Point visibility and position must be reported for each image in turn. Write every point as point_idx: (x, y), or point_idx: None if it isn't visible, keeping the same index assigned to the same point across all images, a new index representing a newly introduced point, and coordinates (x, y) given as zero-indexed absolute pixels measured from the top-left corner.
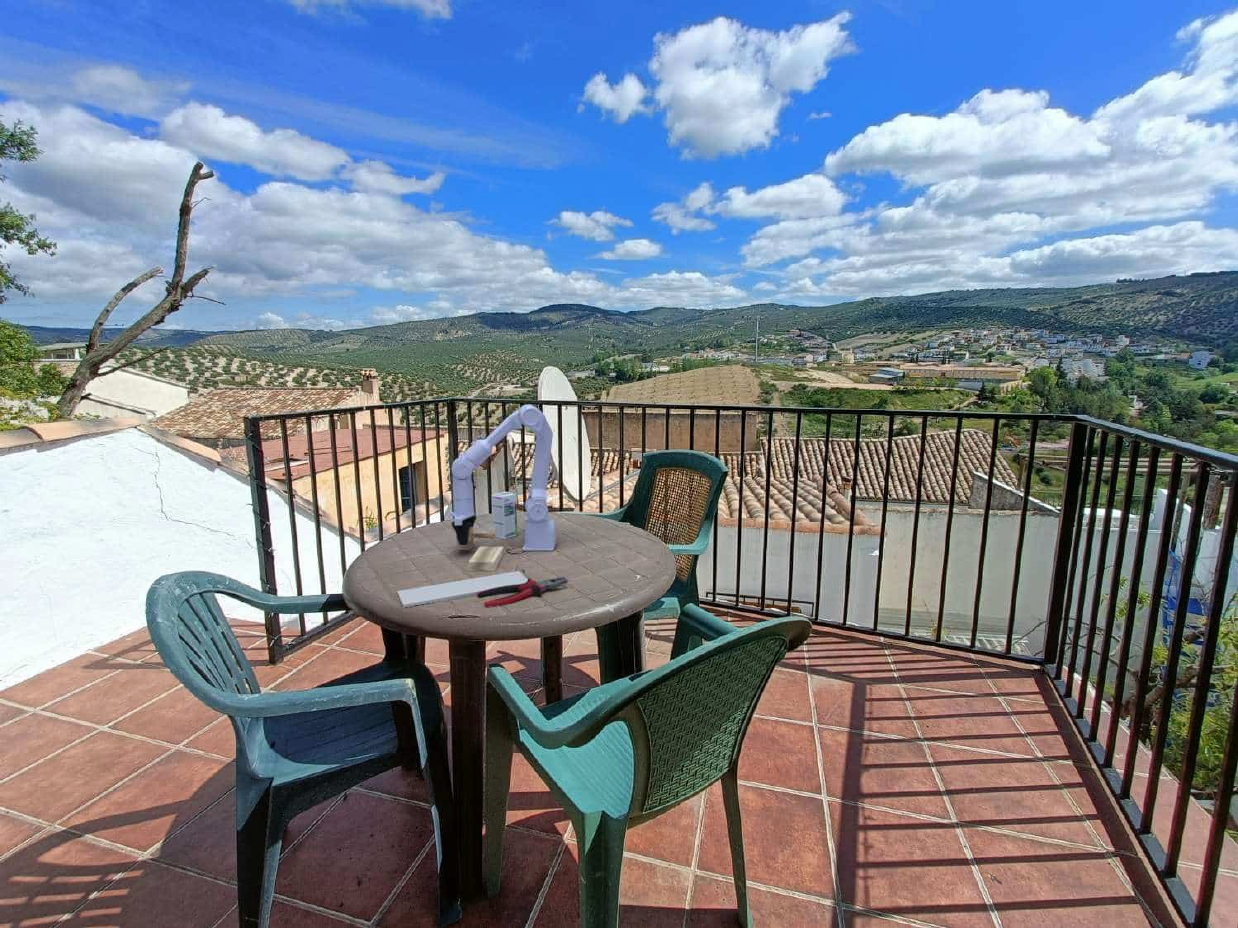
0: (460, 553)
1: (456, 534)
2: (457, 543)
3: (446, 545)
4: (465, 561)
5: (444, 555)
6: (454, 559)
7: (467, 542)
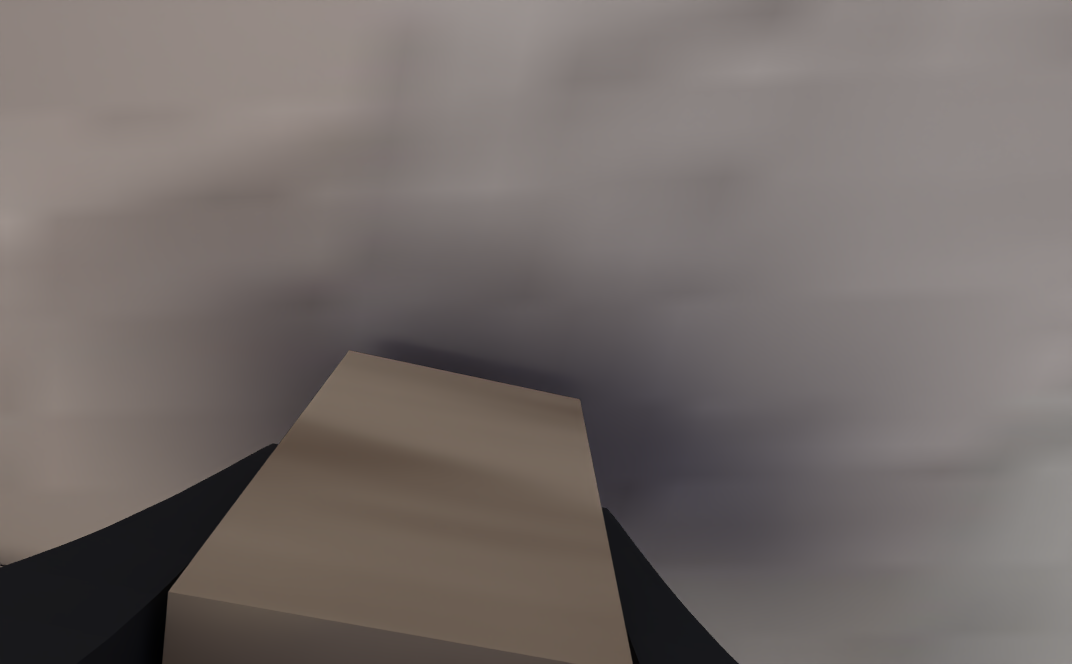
0: None
1: (235, 506)
2: (316, 408)
3: (910, 134)
4: (3, 446)
5: (330, 123)
6: (102, 292)
7: None
